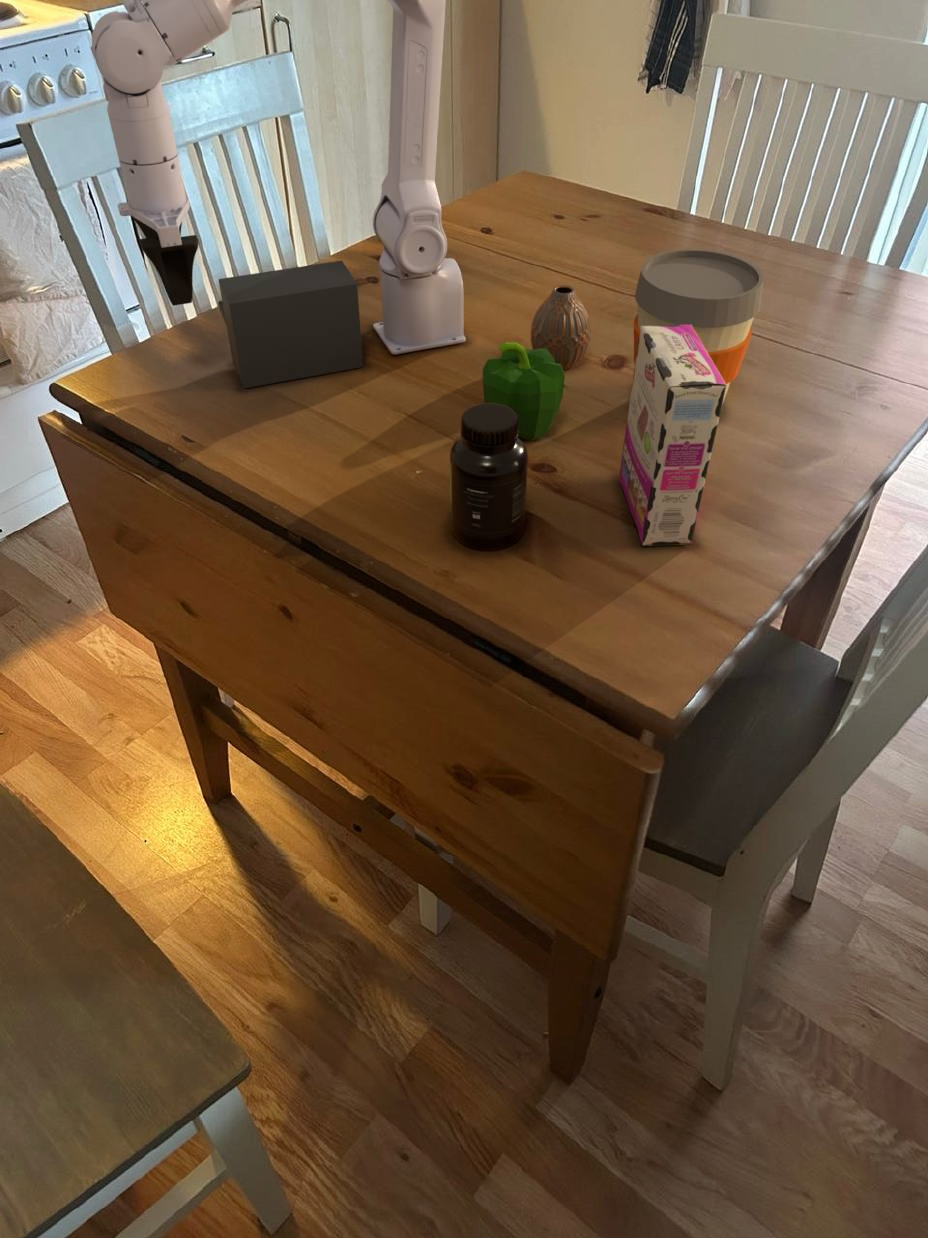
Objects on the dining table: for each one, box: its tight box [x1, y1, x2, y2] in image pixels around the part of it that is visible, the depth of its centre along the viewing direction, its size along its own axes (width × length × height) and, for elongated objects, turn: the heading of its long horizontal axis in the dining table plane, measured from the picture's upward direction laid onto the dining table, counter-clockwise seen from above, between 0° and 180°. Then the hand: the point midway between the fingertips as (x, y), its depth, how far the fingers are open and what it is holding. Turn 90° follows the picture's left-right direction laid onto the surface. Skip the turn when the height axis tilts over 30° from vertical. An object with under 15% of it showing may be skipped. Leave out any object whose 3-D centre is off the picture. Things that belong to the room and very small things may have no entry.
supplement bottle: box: [449, 402, 529, 551], centre depth 85 cm, size 7×7×12 cm
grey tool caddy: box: [217, 260, 364, 389], centre depth 109 cm, size 10×14×11 cm
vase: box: [530, 284, 592, 370], centre depth 110 cm, size 7×7×9 cm
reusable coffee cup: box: [633, 248, 764, 405], centre depth 100 cm, size 13×13×15 cm
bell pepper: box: [482, 341, 566, 441], centre depth 99 cm, size 8×8×10 cm
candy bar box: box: [618, 325, 727, 547], centre depth 86 cm, size 11×5×16 cm, turn 5°
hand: (176, 288), depth 104 cm, fingers open, 7 cm apart
